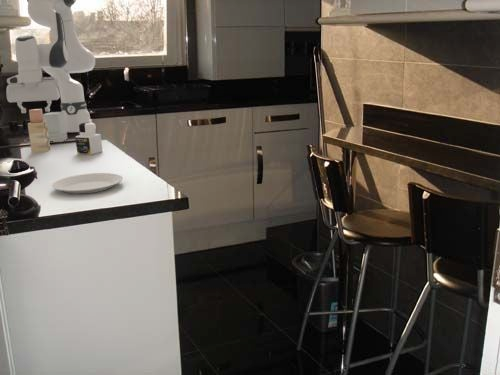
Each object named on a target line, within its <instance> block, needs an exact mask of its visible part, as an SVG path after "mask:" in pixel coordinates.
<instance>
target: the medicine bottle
mask: <svg viewBox="0 0 500 375" xmlns="http://www.w3.org/2000/svg"><path fill="white" fill-rule="evenodd" d="M95 127H96V123H94V122H93V121H92V122H86V123H81V124H79V131H80V132H79V135H76V136H75V137H74V138H75V145H76V147H75V148H76V153H77V155H83V156H84V155H85V156H91V155H95V154H99V153H102V152H103V141H102V135H101V133H96V129H95Z"/></svg>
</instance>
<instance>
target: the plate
mask: <svg viewBox="0 0 500 375" xmlns="http://www.w3.org/2000/svg"><path fill="white" fill-rule="evenodd" d="M123 179H124V177H123V176H122V175H120V174H117V173H109V172H108V173H107V172H105V173H104V172H97V173H95V172H94V173H85V174H84V173H83V174H78V175H73V176H68V177H64V178H60V179H58V180H56V181H54V182H53V183H52V184H51V187H52V188H53V189H54V190H57V191H62V192H65V193H67V194H75V195H83V194H94V193H98V192H102V191H105V190H108V189H111V188H112V187H113V186H115V185H117V184H119V183H121V182H122V181H123Z"/></svg>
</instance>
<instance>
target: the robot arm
mask: <svg viewBox="0 0 500 375" xmlns="http://www.w3.org/2000/svg"><path fill="white" fill-rule="evenodd" d="M26 1H27V13H28V15H29V18H30V19H31V20H32V21H33V22H35V23H36V24H38V25H40V26H43V27H47V28H50V33H51V34H50V35H51V37H52V39H53V41H52V42H50V43H38V42H37V39H36V37H35V36H34V35H23V36H18V37H16V39H15V40H14V43H15V44H14V45H15V46H14V47H15V48H14V50H15V58H16V62H17V65H18V68H17V71H18V74H15V75H13V76H11V77H8V78H7V79H6V83H7V86H6V92H5V93H6V94H5V95H6V99H7V102H8V103H17V106H18V108H19V109H20V112H21V114H26V113H27V108H26V107H24V106H23V102H26V103H27V102H42V101H43V102H45V101H46V103H47V106H46V107H44V111H45V113H49V112H50V111H51V108H50V107H51V105H52V101H58V100H59V99H60V110H61V112H64V117H65V125H66V132H67V133H80V131H79V124H81V123H86V122H92V123H93V120H92V119H91V116H90V112H89V111H88V108H87V102H86V100H85V95H84V94H85V93H84V86H83V84H82V83H80V82H79V81H77V80H76V79H74V78H72V77H71V75H70V74H76V73H77V74H79V73H80V74H81V73H87V72H90V71H93V69H94V68H95V66H96V57H95V55H94V54H93V53H92V51H90V49H87V47H86V46H84V45H83V44H82V42H81V41H80V39H79V38H78V35H77V31H76V28H75V27H76V26H75V22H74V21H75V20H74V16H73V11H72V6H73V5H74V4H75V3H76V1H77V0H26ZM42 70H43V71H44V72H46V74H48V75H50V76H43V71H42ZM96 129H97V128H96V126H95V130H96Z"/></svg>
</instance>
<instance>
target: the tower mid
mask: <svg viewBox="0 0 500 375" xmlns="http://www.w3.org/2000/svg"><path fill="white" fill-rule="evenodd" d="M28 137H29V144H30V143H43V142H47V141H48V140H49V135H48V130H47V131H46V132H44V133H29V132H28Z"/></svg>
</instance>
